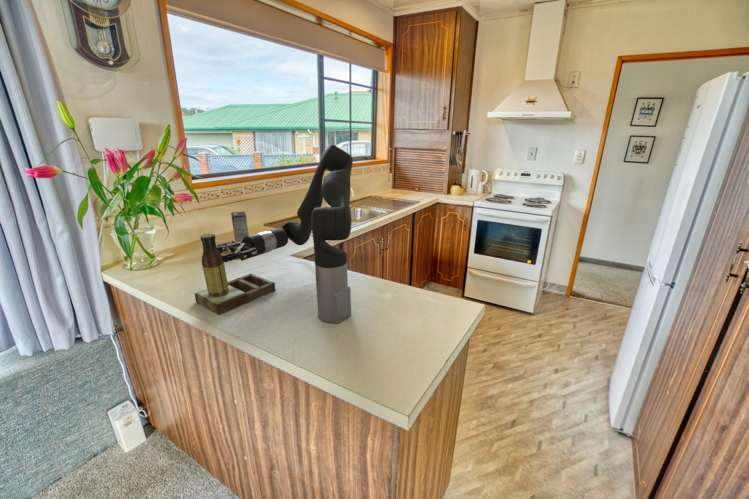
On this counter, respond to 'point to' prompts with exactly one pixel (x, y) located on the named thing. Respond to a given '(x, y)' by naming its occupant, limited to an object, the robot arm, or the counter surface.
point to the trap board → (236, 293)
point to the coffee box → (239, 225)
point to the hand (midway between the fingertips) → (215, 256)
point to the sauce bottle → (213, 267)
